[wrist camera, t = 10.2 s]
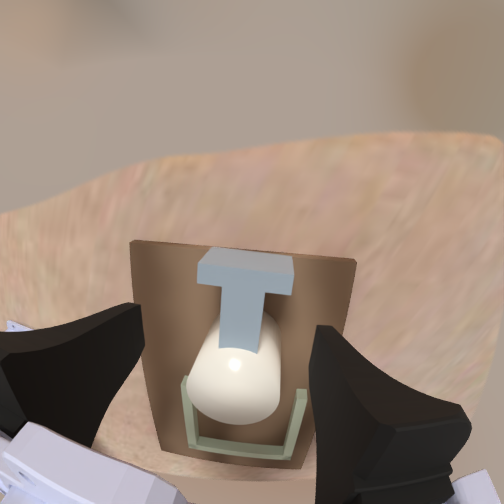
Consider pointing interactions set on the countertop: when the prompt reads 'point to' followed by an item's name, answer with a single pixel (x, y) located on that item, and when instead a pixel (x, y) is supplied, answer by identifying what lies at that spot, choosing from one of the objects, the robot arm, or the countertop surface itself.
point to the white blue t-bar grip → (240, 337)
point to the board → (196, 329)
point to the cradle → (238, 447)
